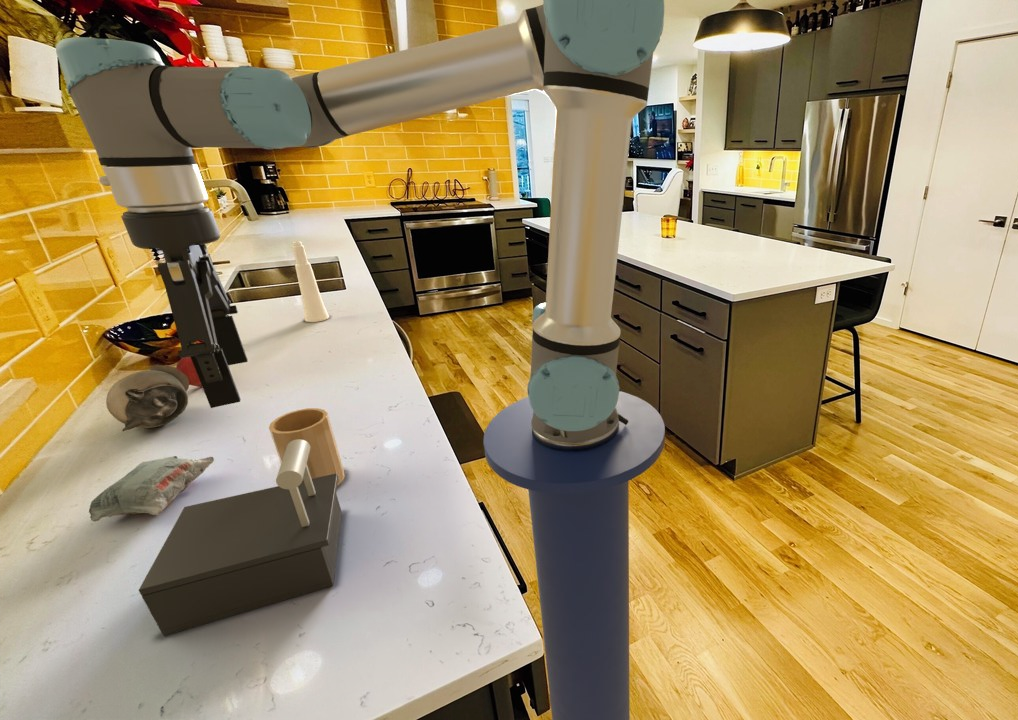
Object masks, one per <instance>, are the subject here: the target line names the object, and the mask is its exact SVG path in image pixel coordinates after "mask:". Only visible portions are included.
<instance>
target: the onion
mask: <svg viewBox="0 0 1018 720" xmlns="http://www.w3.org/2000/svg"><path fill="white" fill-rule="evenodd" d="M175 368H177V369H178V370H179V371H181V372H182V373H184V374H185V375H186V376H187V378H188V380H189V386H192V387H198V388H203V387H202V385H201V382H200V380H199V377H198V375H197V372H196V370H195V367H194V365H193V362H192V360H191V357H186V358H180V360H178V362H177V364H176V366H175Z"/></svg>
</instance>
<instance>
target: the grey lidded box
mask: <svg viewBox="0 0 1018 720" xmlns="http://www.w3.org/2000/svg"><path fill="white" fill-rule="evenodd" d="M337 494H338V493H336V499H335V506H334V513H333V520H332V526H331V533H330V540H329V545H328V546H324V547H321V548H317V549H313V550H309V551H306V552H302V553H298V554H295V555H291V556H287V557H283V558H280V559H276V560H272V561H268V562H265V563H261V564H257V565H254V566H250V567H246V568H242V569H239V570H235V571H231V572H227V573H224V574H220V575H216V576H213V577H209V578H205V579H201V580H198V581H194V582H190V583H186V584H183V585H179V586H175V587H172V588H168V589H164V590H160V591H157V592H153V593H149V594H145V595H141V598H142V599H143V601H144V603H145V605H146V607H147V609H148V611H149V612H150V614H151V616H152V618H153V620H154V621H155V623H156V625H157V628H158V629H159V630H160V632H161V634H162V636H163V637H165V636H169V635H172V634H176V633H178V632H182V631H185V630H188V629H192V628H196V627H199V626H203V625H205V624H209V623H213V622H216V621H219V620H224V619H225V618H229V617H233V616H236V615H239V614H243V613H247V612H250V611H253V610H256V609H259V608H263V607H266V606H270V605H273V604H276V603H279V602H283V601H287V600H290V599H292V598H297V597H300V596H304V595H307V594H311V593H313V592H317V591H321V590H323V589H327V588H330V587H333V586H334V583H335V574H336V567H337V559H338V550H339V542H340V534H341V526H342V519H343V511H342V507H341V504H340V501H339V499H338V495H337Z"/></svg>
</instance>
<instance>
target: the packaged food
mask: <svg viewBox="0 0 1018 720" xmlns="http://www.w3.org/2000/svg"><path fill="white" fill-rule="evenodd" d="M214 461H215V458H214V457H213V456H209V457H205V458H198V459H196V458H195V459H193V458H179V457H178V456H177V455H173V456H168V457H167V456H166V457H163V458H157V459H153V460H148V461H142V462H141V463H139V464H138V465H136V467H135V468H133V469H132V470H130V471H129V472H127V474H125V475H124V476H123V477H122V478H119V479H118V480H117V481H115V482H114V483H112V484H110V485H109V486H108V487H107V488H105V489H104V490H103V491H102V492H101V493H99V494H98V495H97V496H96V497H95V498H94V499H93V500H92V501H90V505H89V508H88V513H89V515H90V516H89V518H90V521H91V522H95V523H96V522H99V521H100V520H101V519H102V518H106V517H108V518H111V517H116V516H122V515H133V514H134V515H135V514H149V515H151V516H152V515H153V516H158V515H160V514H161V513H162V512H163V510H165V509H166V508H167V507H168V506H169V505H170V504H171V503H172V502H173V500H175V499H176V497H177V496H178V495H179V494H180V493H182V492H184V491H185V490H186V489H187V488H188V487H189V485H191V483H193V482H194V481H195V480H196V479H197V478H199V477H200V476H201V475H203V473H204V472H205V471H206V469H207V468H209V467H210V466H211V465H212V464H213V463H214Z"/></svg>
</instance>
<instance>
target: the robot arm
mask: <svg viewBox="0 0 1018 720" xmlns="http://www.w3.org/2000/svg"><path fill="white" fill-rule="evenodd" d="M542 1H543V2H542V4H541V5H536V6H534V7H530V8H526V9H523V10H522V11H521V13H520V16H519V17H518V19H517V21H516V22H512V23H508V24H503V25H499V26H495V27H492V28H491V27H490V28H488V29H487V28H486V29H483V30H479V31H474V32H472V33H467V34H463V35H458V36H455V37H451V38H447V39H442V40H438V41H434V42H430V43H427V44H423V45H418V46H414V47H410V48H407V49H403V50H397V51H394V52H390V53H387V54H383V55H379V56H375V57H371V58H367V59H362V60H358V61H354V62H350V63H346V64H342V65H338V66H334V67H330V68H326V69H322V70H319V71H316V72H310V73H307V74H303V75H298V76H294V77H291V76H290V75H289V74H288V73H286V72H285V71H283V70H280V69H277V68H265V67H259V66H258V67H256V66H252V65H239V66H174V65H173V66H172V65H171V66H169V65H165V63H164V62H163V60H162V58H161V56H160V54H159V52H158V51H157V50H156V49H155V48H153V47H152V46H151V45H148V44H145V43H141V42H137V41H130V40H123V39H114V38H97V37H87V36H86V37H85V36H84V37H83V36H77V37H66V38H63V39H61V40H59V41H58V42H57V43H56V46H55V53H56V56H57V59H58V62H59V65H60V68H61V71H62V75H63V77H64V81H65V83H66V88H65V89H66V91H67V93H68V95H69V96H70V97H71V99H72V102H73V103H74V107H75V108H76V111H77V113H78V115H79V117H80V119H81V121H82V123H83V125H84V128H85V130H86V132H87V134H88V136H89V139H90V141H91V143H92V145H93V147H94V150H95V152H96V154H97V156H98V157H97V158H98V162H99V165H100V166H101V168H102V171H103V173H104V175H101V176H99V179H98V182H99V183H100V184H101V185H102V186H104V187H110V191H111V193H112V196H113V198H114V201H115V203H116V205H117V206H119V207H121V208H126V209H127V211H124V212H122V215H121V216H120V217H121V220H122V221H123V224H124V227H125V230H126V232H127V235H128V236H129V239H130V243H131V244H132V245H133V246H134V247H136V248H138V249H144V250H153V249H154V250H155V249H158V250H160V251H162V253H163V258H164V262H158V263H157V267H156V268H157V271H158V272H159V274H160V277H161V280H162V283H163V285H164V288H165V292H166V296H167V299H168V303H169V307H170V310H171V314H172V318H173V322H174V325H175V329H176V333H177V336H178V341H179V344H180V348H181V349H180V350H177V354H178V356H179V358H180V359H182V358H186V357H191V360H192V362H193V365H194V367H195V370H196V372H197V375H198V377H199V380H200V382H201V385H202V387H201V388H202V389H203V392H204V395H205V398H206V400H207V402H208V404H209V407H210V409H213V408H218V407H223V406H227V405H232V404H237V403H241V400H242V399H241V397H240V394H239V390H238V389H237V385H236V382H235V380H234V378H233V375H232V372H231V370H230V366H233V365H238V364H243V363H248V361H249V360H248V357H247V353H246V352H245V349H244V345H243V342H242V340H241V337H240V334H239V331H238V328H237V325H236V322H235V320H234V317H233V315H236V314H238V313H239V311H238V308H237V305H236V304H235V305H231V299H229V297H228V294H227V293H226V290H225V287H224V286H223V284H222V282H221V279H220V277H219V275H218V273H217V270H216V268H215V266H214V264H213V260H212V258H211V257H210V253H209V251H208V247H207V245H208V244H211V243H214V242H217V241H218V240H219V239H220V238H221V233H220V230H219V228H218V224H217V222H216V219H215V216H214V215H215V214H214V212H213V210H212V209H211V208H209V206H205V204H204V203H207V202H208V200H209V199H210V198H209V196H208V193H207V189H206V186H205V183H204V182H203V178H202V174H201V172H200V169H199V166H198V163H196V160H195V157H194V152H193V149H203V148H218V149H219V148H220V149H221V148H223V149H226V148H227V149H264V150H274V149H275V150H282V149H286V148H297V147H302V148H309V149H310V148H311V149H312V148H318V147H324V146H327V145H329V144H332V143H333V142H335V141H336V140H339V139H343V138H346V137H350V136H354V135H358V134H361V133H366V132H369V131H374V130H378V129H380V128H381V129H382V128H384V127H390V126H394V125H397V124H401V123H405V122H406V123H407V122H409V121H413V120H417V119H421V118H425V117H429V116H433V115H437V114H441V113H445V112H449V111H454V110H457V109H461V108H465V107H469V106H474V105H477V104H481V103H485V102H489V101H493V100H497V99H501V98H505V97H510V96H513V95H517V94H521V93H525V92H530V91H534V90H536V91H538V92H540V93H542V94H543V95H545V96H546V97H548V99H549V101H550V102H551V103H552V104H553V106H554V109H555V120H554V121H555V123H554V143H553V159H552V160H553V162H552V178H551V179H552V181H551V182H552V183H551V199H550V218H549V236H548V237H549V238H548V252H547V253H548V254H547V255H548V257H547V274H546V276H547V277H546V290H545V291H546V292H545V293H546V294H545V302H542V303H539V304H537V305H536V306H535V307H534V309H533V311H532V320H531V324H532V335H531V338H532V339H531V357H530V359H531V360H530V375H529V380H528V383H527V389H526V390H527V397H529V401H530V405H531V407H532V409H533V411H534V413H533V416H532V420H531V427H532V435H533V437H534V439H535V440H536V441H537V442H538V443H539V444H541V445H543V446H545V447H547V448H550V449H553V450H558V451H566V452H575V451H584V450H589V449H593V448H596V447H599V446H601V445H604V444H606V443H607V442H609V441H610V440H612V439H613V438H614V437H615V435H616V434H617V432H618V430H619V421H620V422H622V423H623V424H625V425H626V424H627V423H628V420H627V419H625V418H624V417H622V416H621V415H620V414H618V412H617V410H616V405H617V401H618V395H619V391H620V385H619V383H620V382H619V380H618V378H617V369H618V368H617V367H618V359H619V349H620V341H621V332H622V331H621V328H620V327H619V325H618V324H617V323H616V322H615V321H614V320H613V318H612V311H613V302H614V301H613V300H614V292H615V283H616V282H615V281H616V273H617V264H618V253H619V247H620V246H619V245H620V236H621V235H620V234H621V226H622V218H623V217H622V216H623V207H624V198H625V189H626V178H627V169H628V161H629V160H628V158H629V151H630V141H631V131H632V123H633V120H634V118H635V117H636V116H637V115H638V114H639V113H641V111H642V110H644V109H645V108H646V107H647V106H648V101H649V91H650V86H651V85H650V84H651V76H652V68H653V67H652V66H653V57H654V52H655V51H656V48H657V47H658V44H659V43H660V42H661V37H662V34H663V31H664V25H665V10H666V9H665V8H666V7H665V0H542ZM201 341H202V342H201Z"/></svg>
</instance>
